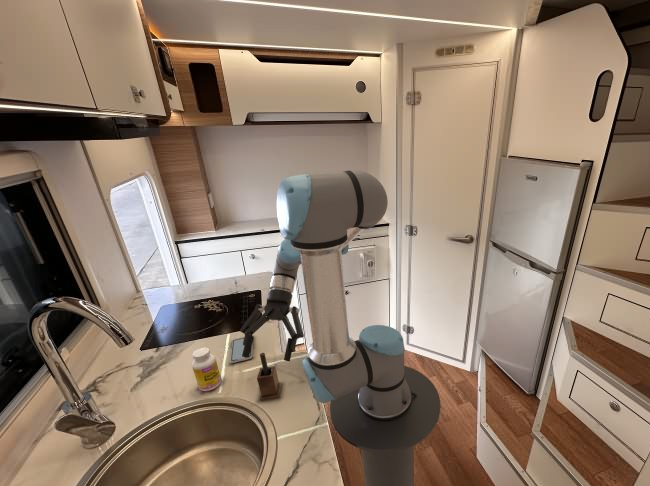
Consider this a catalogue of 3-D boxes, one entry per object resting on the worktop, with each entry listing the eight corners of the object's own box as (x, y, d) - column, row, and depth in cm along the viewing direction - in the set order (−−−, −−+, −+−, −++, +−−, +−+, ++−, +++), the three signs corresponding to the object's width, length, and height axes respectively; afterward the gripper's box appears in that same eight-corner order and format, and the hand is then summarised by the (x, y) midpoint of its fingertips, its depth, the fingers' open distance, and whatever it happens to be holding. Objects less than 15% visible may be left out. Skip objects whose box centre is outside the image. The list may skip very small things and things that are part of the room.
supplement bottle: (206, 395, 98) (195, 361, 93) (195, 387, 101) (183, 354, 96) (226, 381, 103) (217, 349, 98) (214, 374, 107) (204, 343, 102)
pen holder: (281, 384, 101) (277, 364, 98) (279, 397, 96) (274, 376, 93) (263, 387, 100) (258, 367, 97) (259, 400, 95) (254, 379, 92)
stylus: (273, 387, 98) (265, 352, 93) (272, 391, 97) (264, 355, 92) (268, 388, 98) (260, 352, 93) (267, 392, 97) (259, 355, 92)
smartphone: (252, 335, 126) (252, 356, 113) (253, 337, 126) (252, 358, 113) (232, 339, 124) (229, 362, 111) (233, 341, 124) (230, 364, 111)
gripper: (321, 297, 104) (309, 363, 96) (252, 293, 108) (235, 357, 100) (313, 289, 97) (299, 361, 89) (239, 286, 101) (221, 354, 93)
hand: (265, 359), depth 95 cm, fingers open, 13 cm apart
